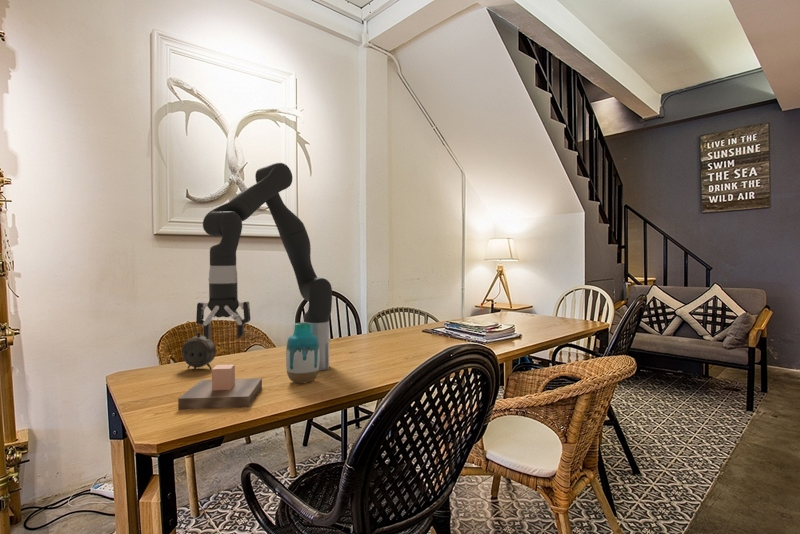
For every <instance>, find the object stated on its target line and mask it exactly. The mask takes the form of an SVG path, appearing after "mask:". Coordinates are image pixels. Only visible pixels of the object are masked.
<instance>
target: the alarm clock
mask: <svg viewBox="0 0 800 534" xmlns="http://www.w3.org/2000/svg"><path fill="white" fill-rule="evenodd" d="M196 327H200V328H201V331H198V332H197V331H196V329H195V328H196ZM193 332H194V333H195V334H196V336H194V337H191V338H189V339H187V340H186V341H185V342H184V343H183V345H182V349H181V356H182V358H183V360H184V362H185V363H186V364H187V365H188V366H187V369H190V367H192V368H193V371H194V372H195V371H196V370H197V369H198V368H203V367H204V366H207V367H208V368H209V369H210V370H212V369H213V367H212V366H211V364H210V363H211V362H212V361H214V359H215V357H216V354H217V350H216V349H217V348H216V345H215V343H214V341H213V340H212V339H211V338H210V339H206V337H204V335H201V334H202V333H203V332H204V326H203V325H202V324H196V325H194V327H193Z"/></svg>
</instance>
